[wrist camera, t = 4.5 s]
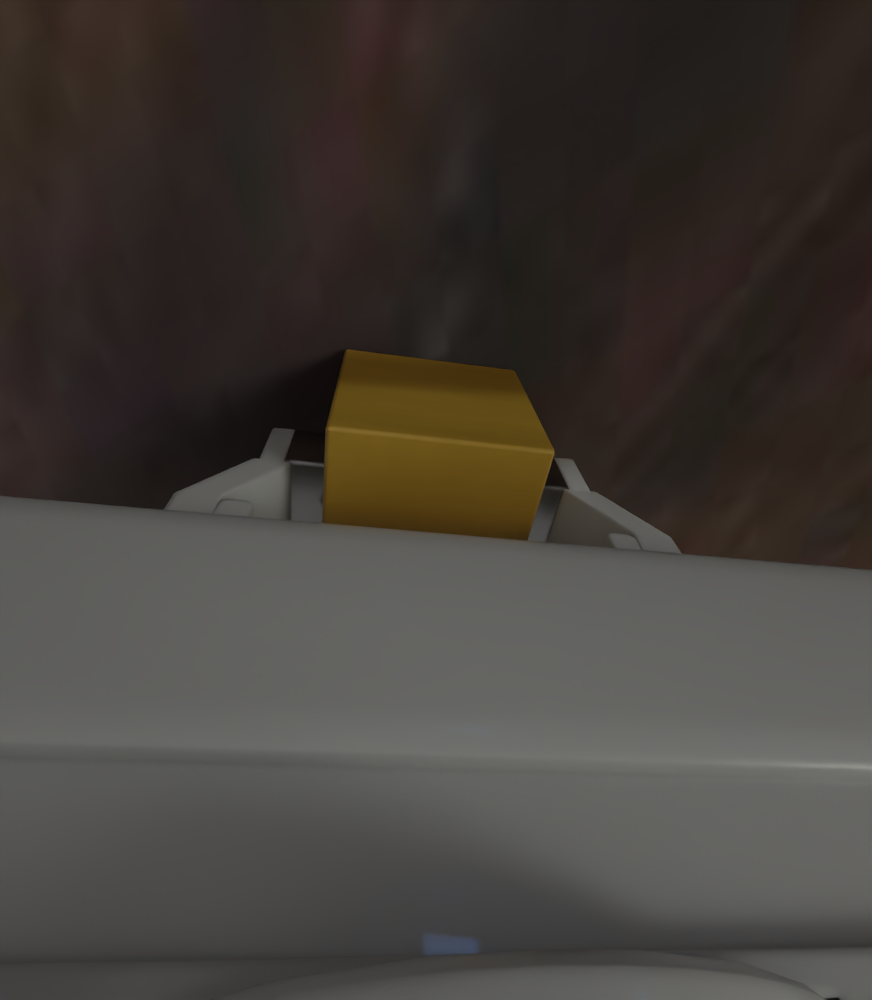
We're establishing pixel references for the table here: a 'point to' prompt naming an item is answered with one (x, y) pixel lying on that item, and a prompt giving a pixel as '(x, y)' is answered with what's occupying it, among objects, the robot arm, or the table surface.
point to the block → (433, 448)
